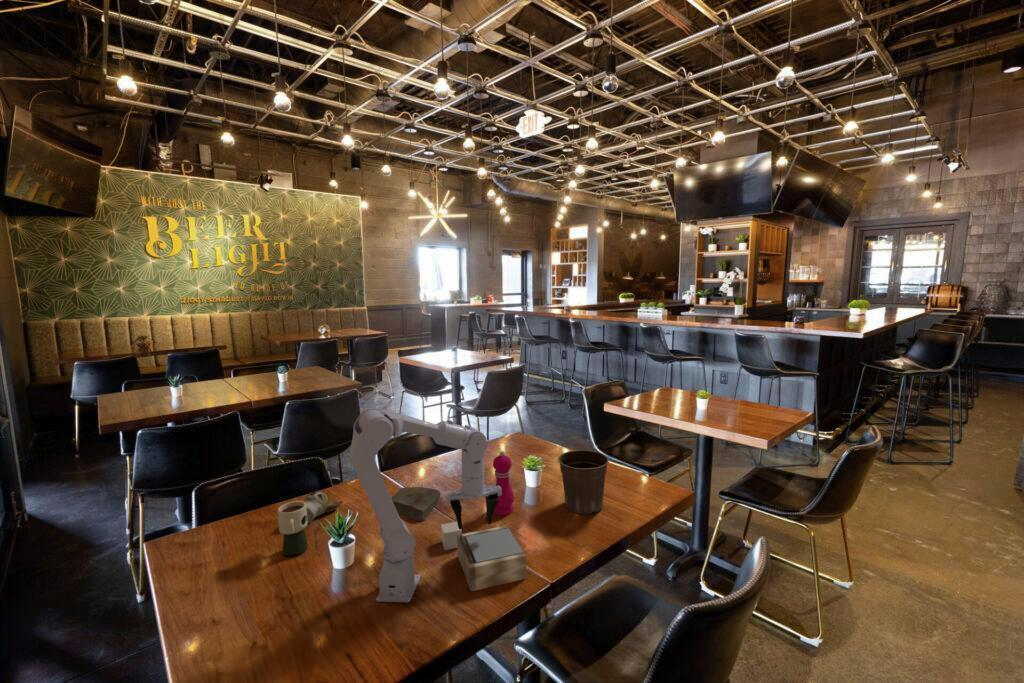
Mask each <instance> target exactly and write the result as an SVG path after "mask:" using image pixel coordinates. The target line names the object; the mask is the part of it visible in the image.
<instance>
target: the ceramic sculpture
mask: <svg viewBox="0 0 1024 683" xmlns="http://www.w3.org/2000/svg"><path fill="white" fill-rule="evenodd" d="M303 502H305V503H306V509H307V521H308V524H311V523H312V522H313V521H314V519H315V518H316V517H319V516H321V515H323V514H325V513H329V512H332V511H335V510H336V509H338V508H339V506H341V504H342V503H343V500H340V501H336V500H335V501H334V500H332V501H329V496H328V495H327V494H326V493H324V492H320V491H314V490H313V491H311V492H310V493H308V494H307V495H306V497H305V498H304V500H303Z"/></svg>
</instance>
